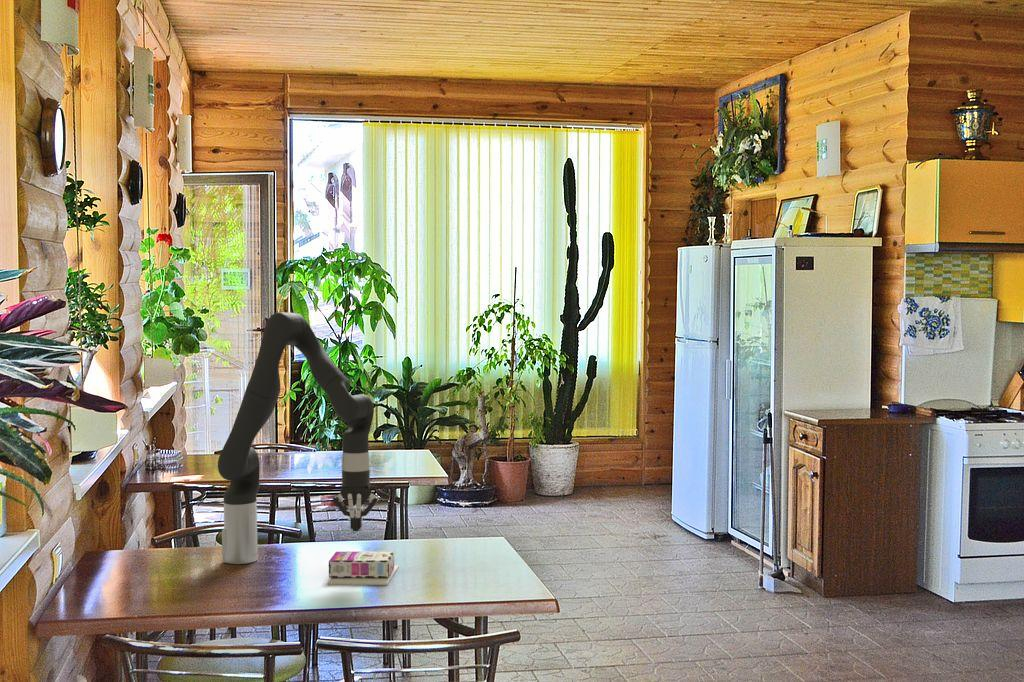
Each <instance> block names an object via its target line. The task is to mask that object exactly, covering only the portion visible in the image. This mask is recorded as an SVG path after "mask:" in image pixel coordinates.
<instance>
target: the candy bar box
mask: <svg viewBox="0 0 1024 682" xmlns="http://www.w3.org/2000/svg"><path fill="white" fill-rule="evenodd" d="M394 565H395V552H394V551H380V550H379V551H377V550H375V551H336V552H335V553H334V554H333V555H332V556H331V558H329V560H328V577H329V579H331V578H389V576H390V574H391V572H392V570H393V568H394Z"/></svg>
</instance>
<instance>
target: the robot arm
mask: <svg viewBox="0 0 1024 682" xmlns="http://www.w3.org/2000/svg"><path fill="white" fill-rule="evenodd" d="M286 346H294V347H295V348H296V349H297V350H298V351H300V353H302V355H303V356H304V358H305V359H306V361H307V363H308V365H309V369H310V370H309V371H310V372H311V375H312V377H313V379H314V381H315V382H316V383H317V385H318V386H319V387H320V388H321V389H322V390H323V392H324V393H325V394H326V395H327V397H328V400H329V401H330V403H331V406H332V409H333V410H334V412H335V415H337V416H338V418H339V419H341V420H342V421H344V422H347V423H351V424H350V427H349V428H348V429H346V430H345V431H344V432H343V434H342V456H341V489H340V491H339V494H338V495H335V496H334V497H333V498H332V501H333V502H334V504H335V505H336V507H337V508H338V509H339V511H341V513H342V514H343V515H344V516H345V517H346V516H347V517H349V518H350V520H349V521H350V529H351V530H352V532H360V530H361V529H362V528H363V525H362V524H363V521H362V520H363V519H362V518H363V517H366V516H367V515H368V514H369V513H370V512H371V511H372V510H373V507H375V506H376V504H377V503H378V501H380V497H379V496H376V495H375V494H373V490H372V489H371V486H370V485H371V480H370V479H371V476H370V475H371V463H370V452H369V451H370V450H369V445H370V444H369V441H370V440H369V435H370V432H371V428H372V424H373V423H372V422H373V418H374V411H375V407H374V404H373V401H372V399H371V397H370V396H369V395H367V394H363V393H359V394H354V395H351V394H350V393H349V390H350V387H351V384H350V383H351V382H350V381H349V379H348V378H347V376H346V375H345V374H344V373H343V372H342V370H340V368H339V367H338V366H337V365H336V364H335V363H334V361H333V360H332V359H331V357H330V356H329V355H328V353H327V352H326V351H325V349H324V347H323V346H322V344H321V343H320V340H319V339H318V338H317V335H316V334H315V333H314V330H313V329H312V327H311V325H310V324H309V323H308V321H307V319H306V318H305V317H304V316H303V315H302V314H301V313H298V312H297V313H296V312H287V311H286V312H285V311H280V312H275V313H273V314H272V315H271V316H269V318H268V319H267V321H266V324H265V327H264V331H263V333H262V338H261V342H260V346H259V351H258V354H257V357H256V361H255V364H254V366H253V369H252V372H251V375H250V378H249V381H248V383H247V385H246V389H245V391H244V394H243V396H242V400H241V404H240V406H239V409H238V412H237V414H236V416H235V417H236V418H235V420H234V422H233V425H232V428H231V431H230V433H229V435H228V437H227V439H226V441H225V443H224V445H223V446H222V447H223V448H222V449H221V451H220V454H219V456H218V459H217V470H218V473H219V475H220V477H221V478H223V479H224V480H226V481H230V483H229V486H228V488H227V489H226V490H225V491H224V493H223V527H224V528H222V530H221V551H222V553H221V554H222V559H221V560H222V563H225V564H230V565H244V564H251V563H255V562H256V561H258V559H259V557H258V556H259V555H258V554H259V552H258V551H259V550H258V515H257V514H258V513H257V511H258V509H257V507H258V506H257V502H258V501H257V496H258V492H259V488H260V469H261V468H260V458H259V454H258V453H257V451H256V449H255V448H254V447H252V445H253V442H254V441H255V439H256V437H257V435H258V434H259V432H260V431H261V430H262V428H264V426H265V424H266V423H267V421H268V420H269V419H270V417H271V416H272V414H273V412H274V411H275V409H276V408H275V407H276V406H277V405H276V404H277V401H278V399H279V396H280V392H281V377H280V371H279V370H280V367H279V366H280V361H281V359H282V355H283V354H284V350H285V348H286ZM343 500H344V501H345V502H346V503H347V505H348V506H347V505H346V504H345V503H344V501H343ZM367 501H368V502H369V504H368V505H367V506H366V508H365V509H363V508H364V504H365V503H366V502H367Z"/></svg>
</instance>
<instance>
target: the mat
mask: <svg viewBox="0 0 1024 682" xmlns="http://www.w3.org/2000/svg"><path fill="white" fill-rule="evenodd" d="M399 568H400V565H398V564H397V565H396V564H394V568H393V570H392V572H391V574H390V576H389V578H329V580H328V581H327V584H328V585H347V586H348V585H356V586H357V585H359V586H360V585H362V586H388V585H389V584H390V582H391V580H392V578H393V577H394V576H395V575H396V573H397V571H398V570H399Z"/></svg>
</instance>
